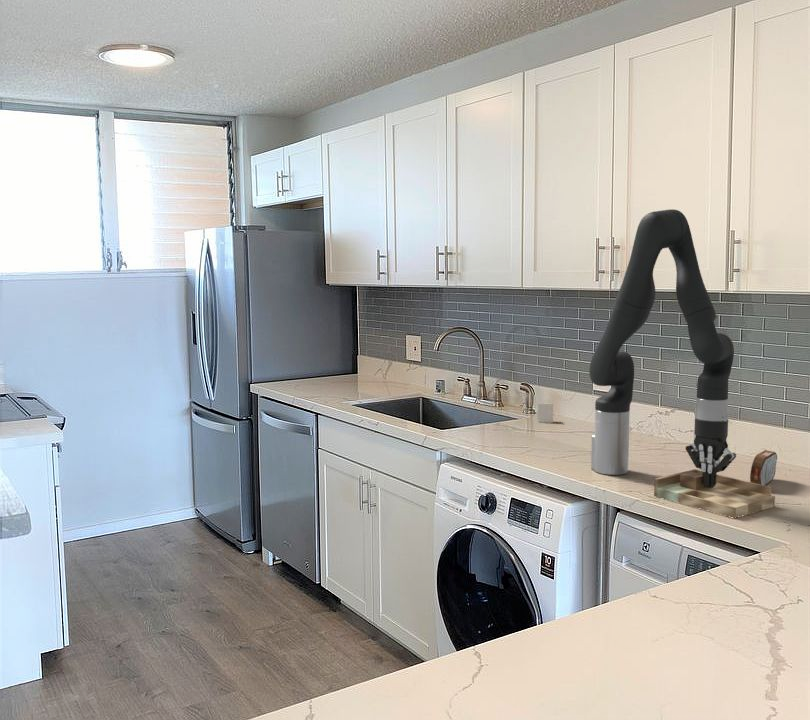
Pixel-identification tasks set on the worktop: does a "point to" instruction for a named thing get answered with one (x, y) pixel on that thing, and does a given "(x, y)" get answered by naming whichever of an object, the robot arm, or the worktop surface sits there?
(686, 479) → the block
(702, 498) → the tray
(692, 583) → the worktop surface
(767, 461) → the tin
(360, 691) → the worktop surface
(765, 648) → the worktop surface
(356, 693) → the worktop surface
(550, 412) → the grey square slab
